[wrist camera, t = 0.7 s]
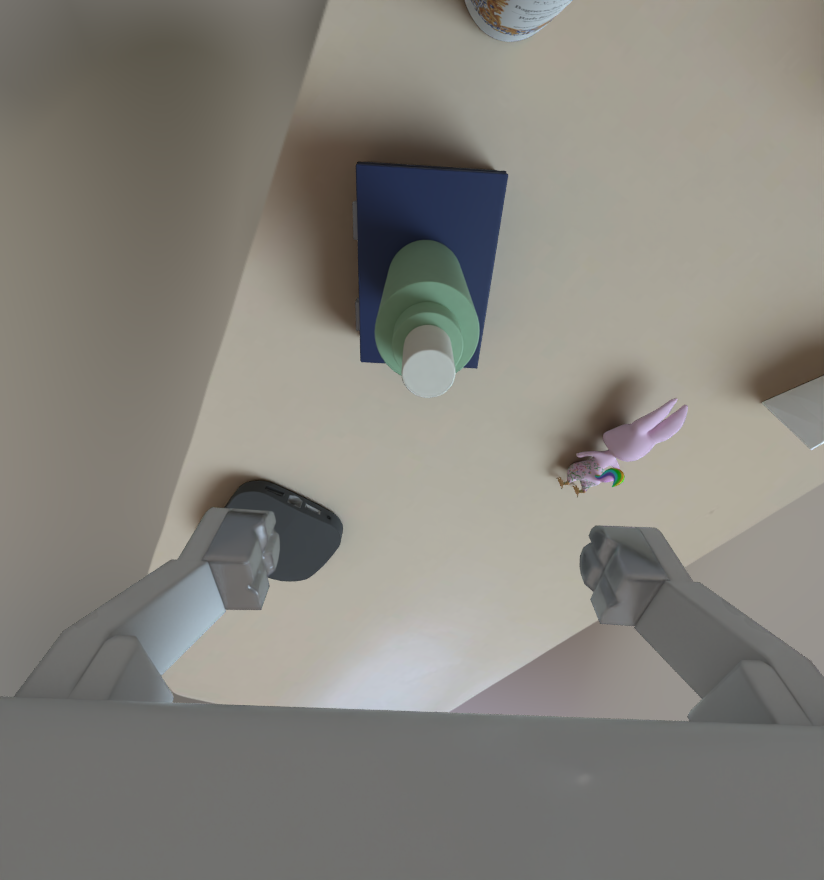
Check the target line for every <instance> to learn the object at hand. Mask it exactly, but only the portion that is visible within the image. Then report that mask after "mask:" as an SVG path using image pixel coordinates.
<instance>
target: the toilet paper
mask: <svg viewBox="0 0 824 880" xmlns="http://www.w3.org/2000/svg"><path fill="white" fill-rule="evenodd" d="M762 404H763V405H764V406H765V407H766V408H767V409H768V410H770V411H771V412H772V413H773V414H774V415H775V416H776V417H777V418H778V419H779V420H780V421H781V422H782V423H783V424H784V425H785V426H786V427H787V428H788V429H789V430H790V431H792V432H793V433H794V434H795V435H796V436H797V437H798V438H799V439H800V440H801V441H802V442H803V443H804V444H805V445H806V446H807V447H808V448H809V449H810V450H812V449H814V448H816V447H818V446H819V445H821V444H823V443H824V376H821V377H819V378H817V379H814V380H812V381H810V382H807V383H805V384H803V385H801V386H798V387H796V388H794V389H791V390H789V391H787V392H784V393H782V394H780V395H778V396H775V397H773V398H771V399H768V400H766V401H764V402H762Z"/></svg>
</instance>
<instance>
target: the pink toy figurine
mask: <svg viewBox="0 0 824 880" xmlns="http://www.w3.org/2000/svg"><path fill="white" fill-rule="evenodd" d="M676 401H677V398H674V399H672V400H670V401H668V402H667V403H665V404H664V405H663V406H661V407H660V408H658V409H656V410H655V411H653V412H651V413H649V414H647V415H645V416H643V417H641V418H639V419H637V420H636V421H634V422H633V423H632V424H623V425H621V426H618V427H616V428H614V429H611V430H609V431H607V432H605V433H604V434H603V441H604V443H605V445H606V446H607V447H608V450H607V451H588V452H580V453H577V457H579V458H581V457H584V456H593V458H592V459H590V460H585V461H581V462H576V463H573V464H572V465H571V466H570V467H569V468H568V473H567V481H566V482H565V483H564V482H563V480H562V479H561V477H559V478H560V479H559V478H556V479H558V481H559V483H560V486H562V488H563V485H569V484H570V483H571V482H573V481H576V480H580V482H581V486H582V489H581V490H579V488H577V486H576V485H575V486H576V487H574V486H573V487H574V490H575V492H576V494H577V497H578V493H585V492H586V491H587V489H588V488H589V487H591V486H596V485H598V484H599V483H600V482H610V481H613V480H614V483H613V486H612V487H614V486H617V485H619V484H621V483H622V482H623V480H624V473H623V472H622V471H621V470H620V467H619V465H618V462H617V461H616V458H618V459H619V460H622V461H635V460H637V459H640V458H641V457H643V456H645V455H646V454H647V453H648V452H649V451H650V450H651V449H652V447H653V446H654V445H655V444H656V443H659V442H662V441H665V440H667V439H668V438H670V437H672V436H673V435H674V434H675V433H676V432H678V431H679V430H680V428H681V427H682V425H683V424H684V421H685V419H686V415H687V410H688V406H687V405H683V406H682V407H681V408H680V409H679V410H677V411H676V412H674V413H673V414H672V415H670V416H669V417H668V418H666V419H665V420H663V419H664V418H665V417H666V416H667V415H668V413H669V412H670V410H671V409H672V407H673V406H674V404H675V403H676ZM662 420H663V421H662ZM661 421H662V422H661ZM658 423H659V424H658ZM607 466H612V467H613V468H610V469H608V470H606V471H605V472H604V469H605V468H606V467H607ZM562 488H561V490H562Z"/></svg>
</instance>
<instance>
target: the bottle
mask: <svg viewBox="0 0 824 880" xmlns="http://www.w3.org/2000/svg"><path fill="white" fill-rule="evenodd" d="M479 332H480V330H479V321H478V317H477V314H476V311H475V308H474V305H473V302H472V299H471V296H470V293H469V290H468V287H467V284H466V281H465V278H464V275H463V273H462V270H461V267H460V264H459V261H458V259H457V258H456V256H455V255H454V253H453V252H452V251H451V250H450V249H449V248H448V247H446V246H445V245H443V244H441V243H439V242H436V241H433V240H419V241H415V242H412V243H410V244H408V245H406V246H404V247H403V248H402V249H401V250H400V251H399V252H398V253H397V254H396V255H395V257H394V258H393V260H392V262H391V264H390V267H389V271H388V275H387V279H386V283H385V287H384V291H383V295H382V299H381V303H380V307H379V311H378V315H377V319H376V323H375V341H376V345H377V348H378V351H379V353H380V355H381V357H382V358H383V360H384V361H385V363H386V364H387V365H388V366H389V367H390V368H391V369H392V370H393V371H395V372H396V373H398V374H399V375H401V376H402V380H403V383H404V385H405V386H406V388H407V389H408V390H409V391H410V392H412V393H413V394H415V395H417V396H420V397H425V398H431V397H436V396H439V395H441V394H443V393H445V392H446V391H447V390H448V389H449V388H450V387H451V385H452V384H453V382H454V379H455V373H457V372H458V371H460V370H461V369H462V368H463V367H464V366H465V365H466V364H467V363H468V362H469V360H470V359H471V357H472V356H473V354H474V352H475V350H476V347H477V344H478V340H479Z"/></svg>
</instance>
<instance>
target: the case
mask: <svg viewBox="0 0 824 880" xmlns="http://www.w3.org/2000/svg"><path fill="white" fill-rule="evenodd" d="M507 179H508V174H506V171H497V170H485V169H469V168H454V167H438V166H423V165H407V164H391V163H376V162H357V164H356V191H357V201H354V202H353V235H354V239H355V240H358V276H359V298H357V300H356V302H355V305H356V330H357V331H360V361H361V362H371V363H385V361H384V360H383V358H382V357H381V355H380V353H379V351H378V348H377V345H376V341H375V323H376V319H377V315H378V311H379V307H380V303H381V299H382V295H383V291H384V287H385V283H386V279H387V275H388V271H389V267H390V264H391V262H392V260H393V258H394V257H395V255H396V254H397V253H398V252H399V251H400V250H401V249H402V248H403V247H404V246H406V245H408V244H410V243H412V242H415V241H419V240H433V241H436V242H439V243H441V244H443V245H445V246H446V247H448V248H449V249H450V250H451V251H452V252H453V253H454V255H455V256H456V258H457V259H458V261H459V264H460V267H461V270H462V273H463V275H464V278H465V281H466V284H467V287H468V290H469V293H470V296H471V299H472V302H473V305H474V308H475V311H476V314H477V317H478V321H479V330H480V332H479V340H478V344H477V347H476V350H475V352H474V354H473V356H472V357H471V359H470V360H469V362H468V363H467V364H466V365H465V366H464V367H463V368H477V366H478V360H479V354H480V347H481V341H482V335H483V329H484V322H485V316H486V310H487V304H488V298H489V291H490V285H491V279H492V273H493V266H494V260H495V254H496V248H497V241H498V235H499V229H500V223H501V217H502V210H503V204H504V198H505V192H506V185H507Z"/></svg>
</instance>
